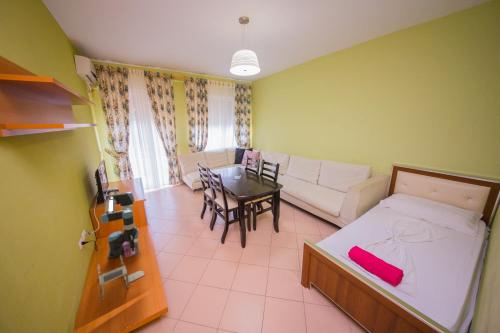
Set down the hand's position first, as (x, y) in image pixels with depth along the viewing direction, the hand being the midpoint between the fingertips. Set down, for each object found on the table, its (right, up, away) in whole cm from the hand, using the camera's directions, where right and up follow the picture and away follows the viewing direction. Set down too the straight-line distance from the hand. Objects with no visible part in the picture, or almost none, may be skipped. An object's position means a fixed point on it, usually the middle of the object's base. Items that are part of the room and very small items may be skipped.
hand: (132, 251), depth 156 cm
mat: (0, -24, +4) cm, 25 cm away
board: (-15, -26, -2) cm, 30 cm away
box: (0, -2, 0) cm, 2 cm away
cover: (-8, -14, -11) cm, 20 cm away
